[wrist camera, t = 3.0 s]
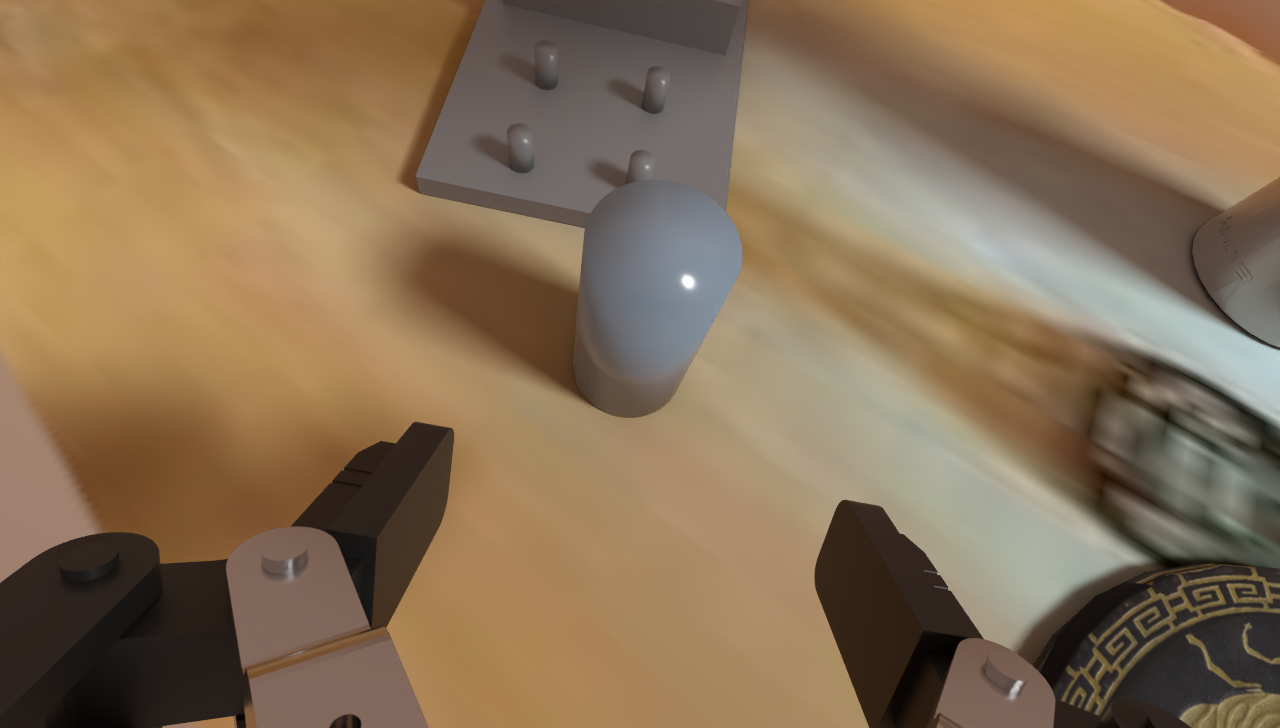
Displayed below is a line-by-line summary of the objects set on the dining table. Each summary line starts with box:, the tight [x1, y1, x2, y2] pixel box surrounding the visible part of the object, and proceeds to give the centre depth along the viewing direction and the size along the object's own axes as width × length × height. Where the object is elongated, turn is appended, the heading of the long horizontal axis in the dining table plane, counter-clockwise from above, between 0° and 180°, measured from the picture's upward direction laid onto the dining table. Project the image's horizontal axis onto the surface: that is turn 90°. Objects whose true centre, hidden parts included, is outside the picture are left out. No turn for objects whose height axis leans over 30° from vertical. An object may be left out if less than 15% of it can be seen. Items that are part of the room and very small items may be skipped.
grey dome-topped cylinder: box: [572, 180, 742, 418], centre depth 23 cm, size 5×5×10 cm
